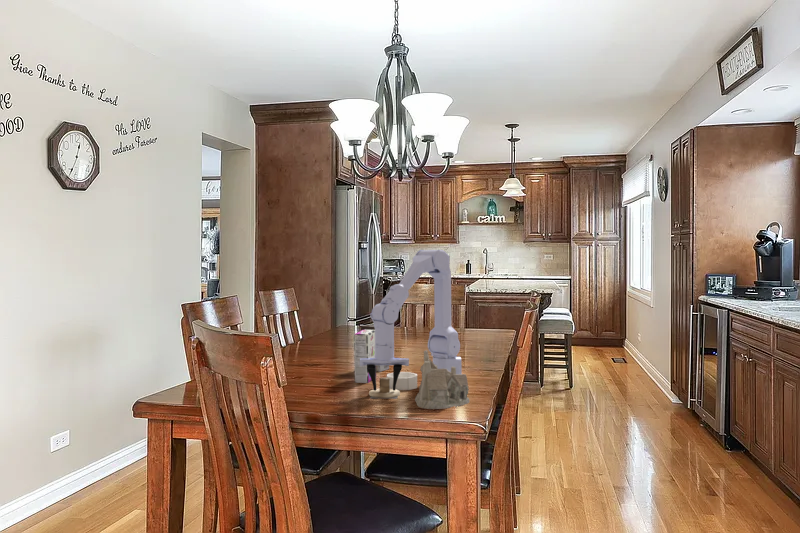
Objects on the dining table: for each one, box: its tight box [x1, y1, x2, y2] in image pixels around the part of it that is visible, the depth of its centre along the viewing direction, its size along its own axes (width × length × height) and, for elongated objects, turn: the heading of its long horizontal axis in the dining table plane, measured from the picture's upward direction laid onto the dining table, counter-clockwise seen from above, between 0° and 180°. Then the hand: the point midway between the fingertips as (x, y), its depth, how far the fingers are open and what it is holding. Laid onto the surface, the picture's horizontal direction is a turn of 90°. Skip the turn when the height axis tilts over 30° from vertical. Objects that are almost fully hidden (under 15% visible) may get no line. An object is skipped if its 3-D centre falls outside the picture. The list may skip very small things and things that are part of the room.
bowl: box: [386, 371, 418, 391], centre depth 189 cm, size 10×10×4 cm
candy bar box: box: [353, 330, 375, 384], centre depth 200 cm, size 11×5×16 cm, turn 168°
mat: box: [369, 396, 399, 400], centre depth 178 cm, size 8×10×1 cm
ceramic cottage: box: [414, 349, 470, 410], centre depth 170 cm, size 16×16×15 cm
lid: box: [368, 376, 401, 398], centre depth 178 cm, size 9×9×5 cm
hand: (384, 389), depth 178 cm, fingers open, 5 cm apart
